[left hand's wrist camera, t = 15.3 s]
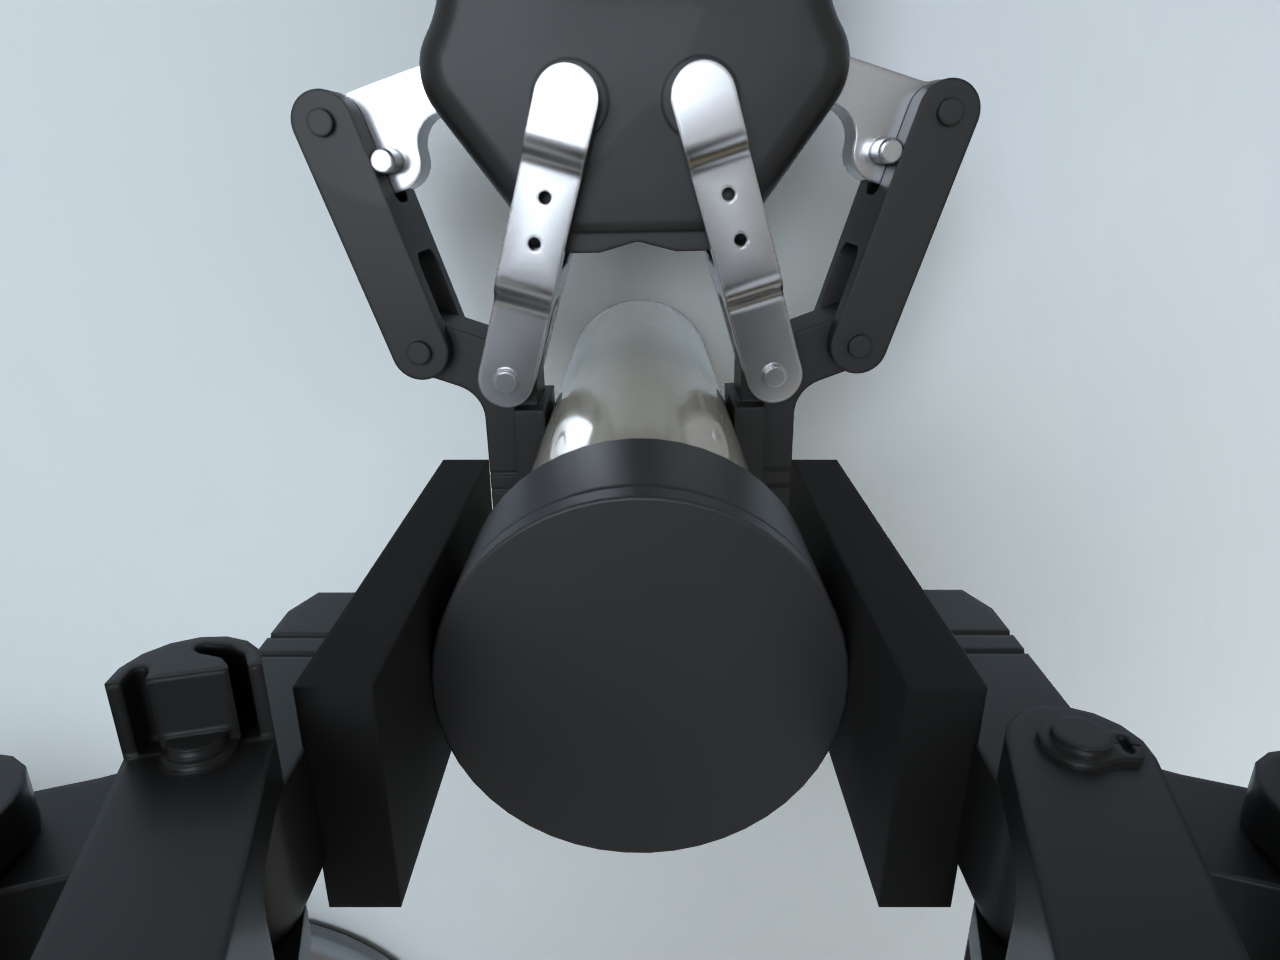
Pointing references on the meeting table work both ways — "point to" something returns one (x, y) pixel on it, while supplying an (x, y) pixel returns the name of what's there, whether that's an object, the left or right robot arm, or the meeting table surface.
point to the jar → (639, 386)
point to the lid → (640, 650)
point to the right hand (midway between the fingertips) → (643, 537)
